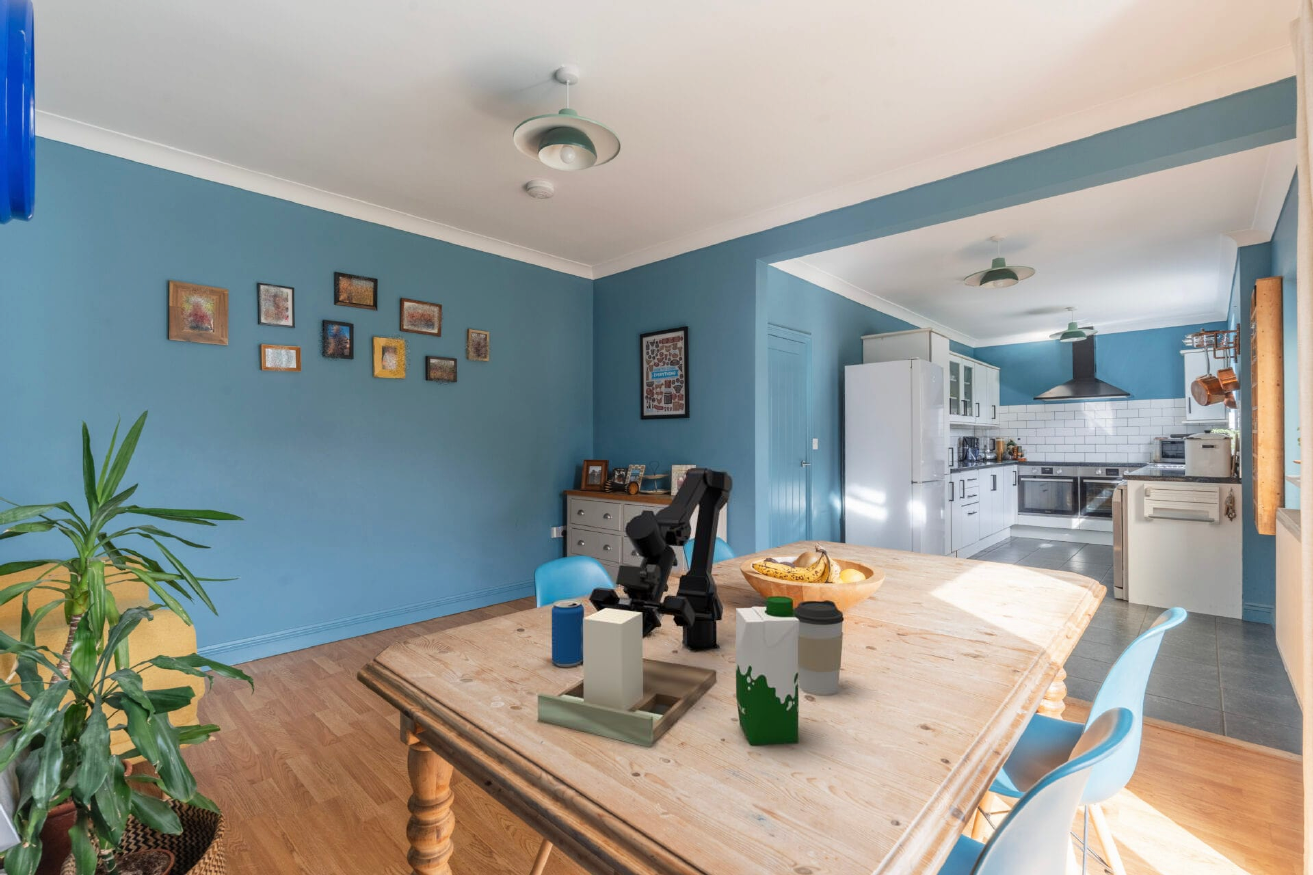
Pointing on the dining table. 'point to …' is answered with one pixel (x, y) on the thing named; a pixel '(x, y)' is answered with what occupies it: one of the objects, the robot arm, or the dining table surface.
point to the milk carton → (768, 671)
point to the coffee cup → (819, 646)
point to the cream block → (613, 658)
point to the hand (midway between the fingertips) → (625, 651)
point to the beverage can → (567, 632)
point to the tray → (647, 720)
